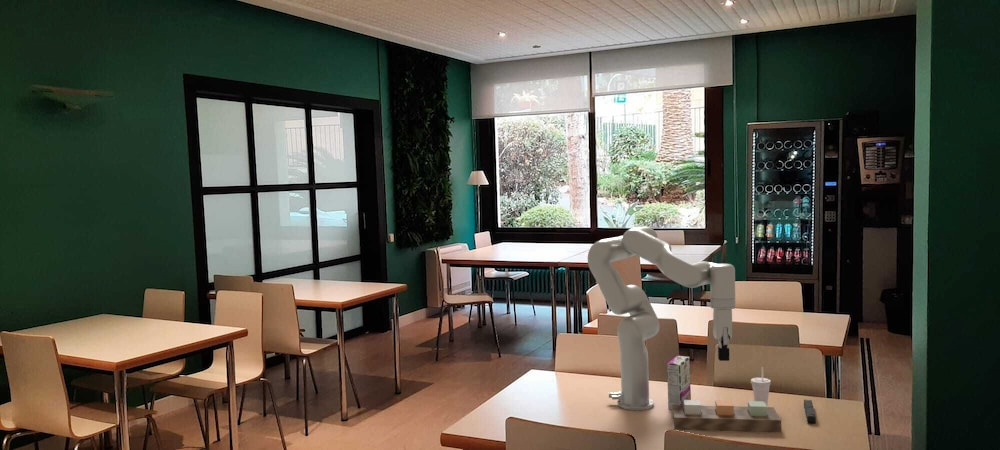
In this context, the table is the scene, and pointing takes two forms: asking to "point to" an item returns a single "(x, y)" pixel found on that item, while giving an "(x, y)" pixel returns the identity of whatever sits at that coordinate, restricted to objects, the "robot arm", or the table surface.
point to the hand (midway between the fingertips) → (723, 359)
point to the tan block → (724, 408)
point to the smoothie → (761, 388)
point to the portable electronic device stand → (809, 412)
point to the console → (726, 420)
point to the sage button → (757, 408)
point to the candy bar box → (678, 381)
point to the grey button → (692, 407)
